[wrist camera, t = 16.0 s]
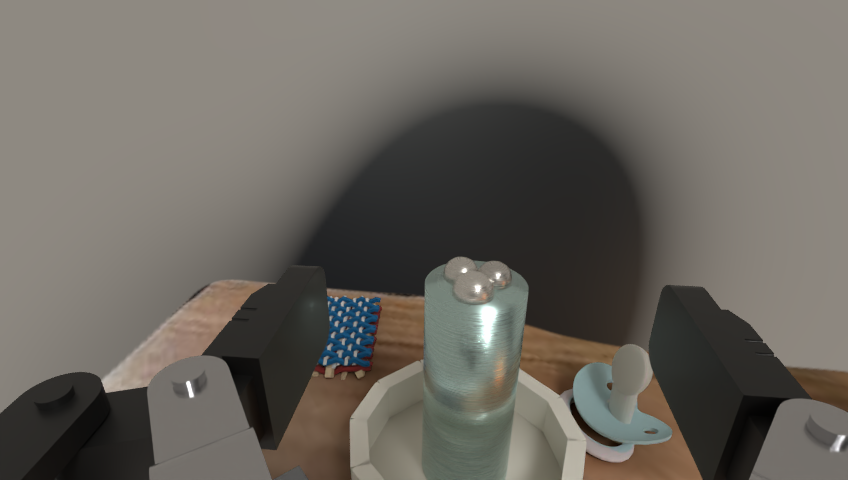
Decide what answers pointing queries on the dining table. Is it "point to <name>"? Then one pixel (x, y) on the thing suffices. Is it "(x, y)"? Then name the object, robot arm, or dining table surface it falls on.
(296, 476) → the parts tray
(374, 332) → the woven mat
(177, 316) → the dining table surface
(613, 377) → the pacifier
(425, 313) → the teal cylinder
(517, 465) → the bowl
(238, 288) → the dining table surface
